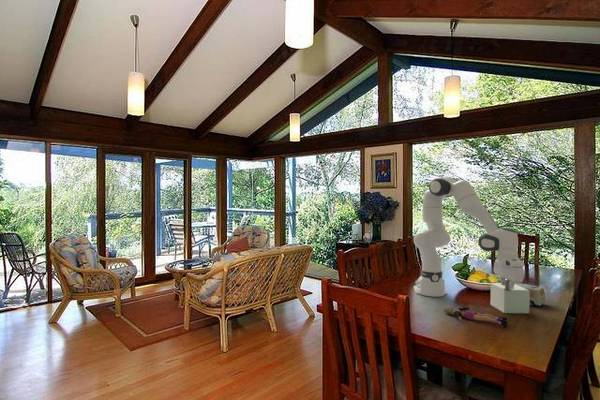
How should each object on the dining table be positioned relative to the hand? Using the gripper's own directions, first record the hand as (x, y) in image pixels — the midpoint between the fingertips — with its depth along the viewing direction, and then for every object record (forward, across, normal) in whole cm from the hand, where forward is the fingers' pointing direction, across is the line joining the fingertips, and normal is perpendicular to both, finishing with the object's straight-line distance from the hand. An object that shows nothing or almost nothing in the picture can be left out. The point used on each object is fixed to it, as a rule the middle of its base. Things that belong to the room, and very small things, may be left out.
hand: (507, 287), depth 177 cm
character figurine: (+14, +9, -21) cm, 27 cm away
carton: (+14, -7, +5) cm, 16 cm away
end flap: (+13, 0, +5) cm, 14 cm away
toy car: (+14, -21, +18) cm, 31 cm away
